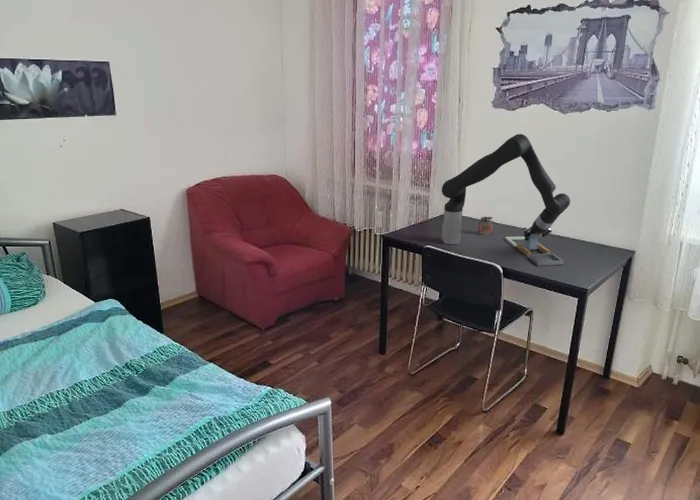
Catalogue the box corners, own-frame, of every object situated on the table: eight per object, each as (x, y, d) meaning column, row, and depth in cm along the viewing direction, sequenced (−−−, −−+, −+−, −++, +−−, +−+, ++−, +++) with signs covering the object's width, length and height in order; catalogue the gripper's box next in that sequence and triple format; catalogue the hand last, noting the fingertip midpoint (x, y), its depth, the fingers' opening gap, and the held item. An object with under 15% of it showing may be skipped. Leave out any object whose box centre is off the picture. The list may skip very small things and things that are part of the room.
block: (529, 249, 255) (531, 232, 252) (525, 246, 259) (527, 229, 256) (536, 249, 256) (539, 231, 253) (533, 246, 259) (535, 229, 256)
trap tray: (538, 266, 236) (538, 261, 236) (528, 258, 247) (528, 254, 246) (563, 265, 237) (564, 261, 237) (552, 257, 248) (553, 253, 247)
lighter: (478, 235, 283) (479, 217, 280) (476, 233, 286) (478, 216, 283) (493, 235, 283) (494, 217, 280) (491, 233, 286) (492, 215, 283)
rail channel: (527, 256, 249) (528, 251, 248) (516, 247, 262) (516, 242, 262) (549, 255, 250) (550, 250, 249) (537, 246, 263) (537, 242, 262)
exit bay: (514, 246, 263) (514, 244, 263) (505, 239, 276) (505, 236, 275) (537, 246, 264) (538, 243, 264) (527, 238, 277) (527, 236, 276)
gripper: (556, 215, 245) (542, 232, 260) (527, 215, 244) (515, 232, 259) (560, 228, 241) (546, 245, 257) (530, 229, 240) (518, 246, 256)
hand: (530, 239), depth 258 cm, fingers closed on block, 4 cm apart
